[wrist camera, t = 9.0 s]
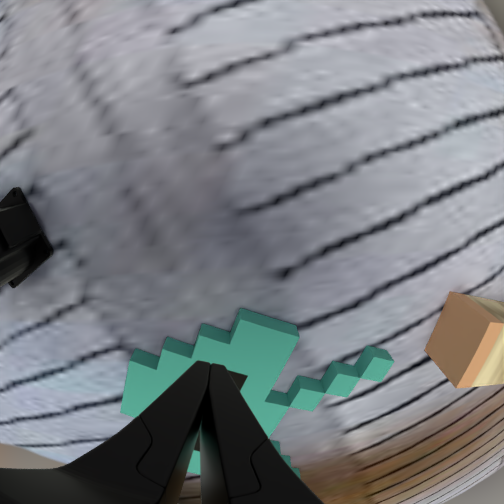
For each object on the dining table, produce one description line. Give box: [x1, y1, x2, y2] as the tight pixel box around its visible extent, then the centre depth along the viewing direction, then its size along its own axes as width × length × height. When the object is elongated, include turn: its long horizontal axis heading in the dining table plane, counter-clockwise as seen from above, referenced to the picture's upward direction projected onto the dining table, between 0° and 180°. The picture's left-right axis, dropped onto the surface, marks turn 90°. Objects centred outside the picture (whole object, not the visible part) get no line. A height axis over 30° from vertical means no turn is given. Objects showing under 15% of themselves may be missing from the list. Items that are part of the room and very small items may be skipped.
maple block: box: [424, 292, 504, 388], centre depth 21 cm, size 6×6×13 cm
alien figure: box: [120, 308, 394, 478], centre depth 25 cm, size 20×2×20 cm
